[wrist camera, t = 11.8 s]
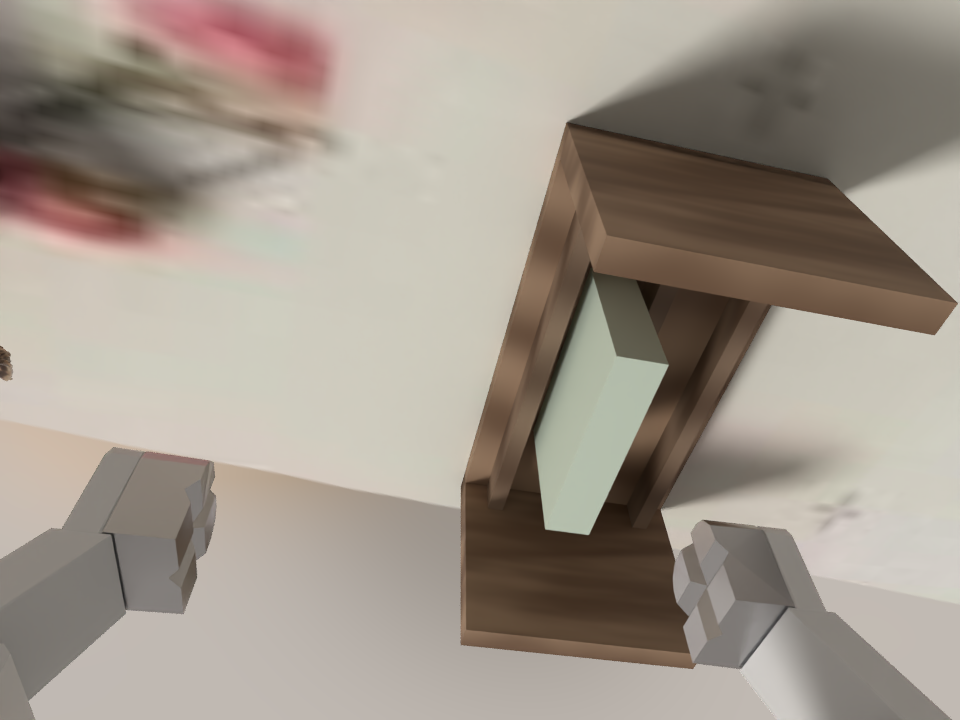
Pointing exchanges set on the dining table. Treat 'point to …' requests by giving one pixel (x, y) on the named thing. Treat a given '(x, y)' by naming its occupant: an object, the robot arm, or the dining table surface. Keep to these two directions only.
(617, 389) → the pale green rectangular block
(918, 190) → the dining table surface
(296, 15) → the dining table surface
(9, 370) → the stuffed bird
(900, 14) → the dining table surface
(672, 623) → the wooden book rack
